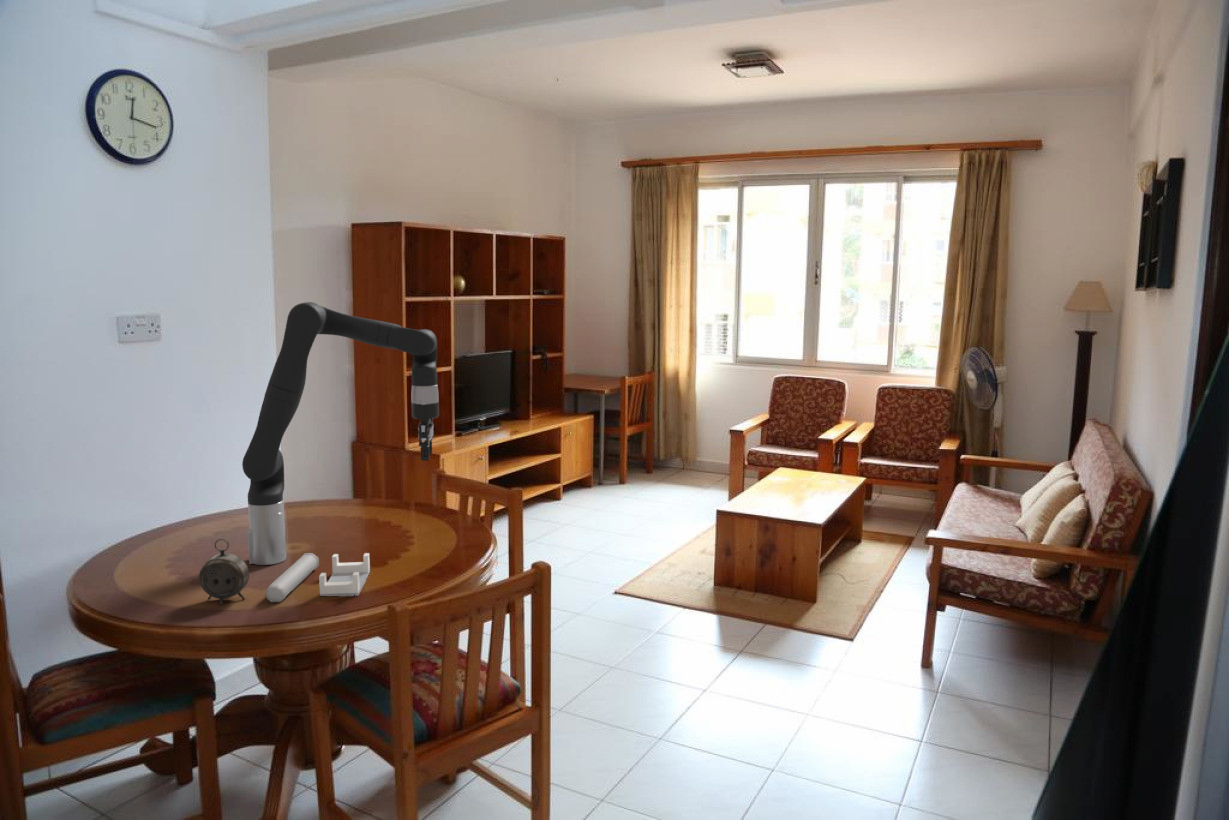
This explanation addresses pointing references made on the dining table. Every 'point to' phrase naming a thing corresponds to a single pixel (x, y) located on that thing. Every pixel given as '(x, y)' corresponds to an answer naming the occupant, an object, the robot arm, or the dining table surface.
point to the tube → (292, 577)
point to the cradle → (345, 577)
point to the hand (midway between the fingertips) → (426, 457)
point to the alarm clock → (224, 575)
